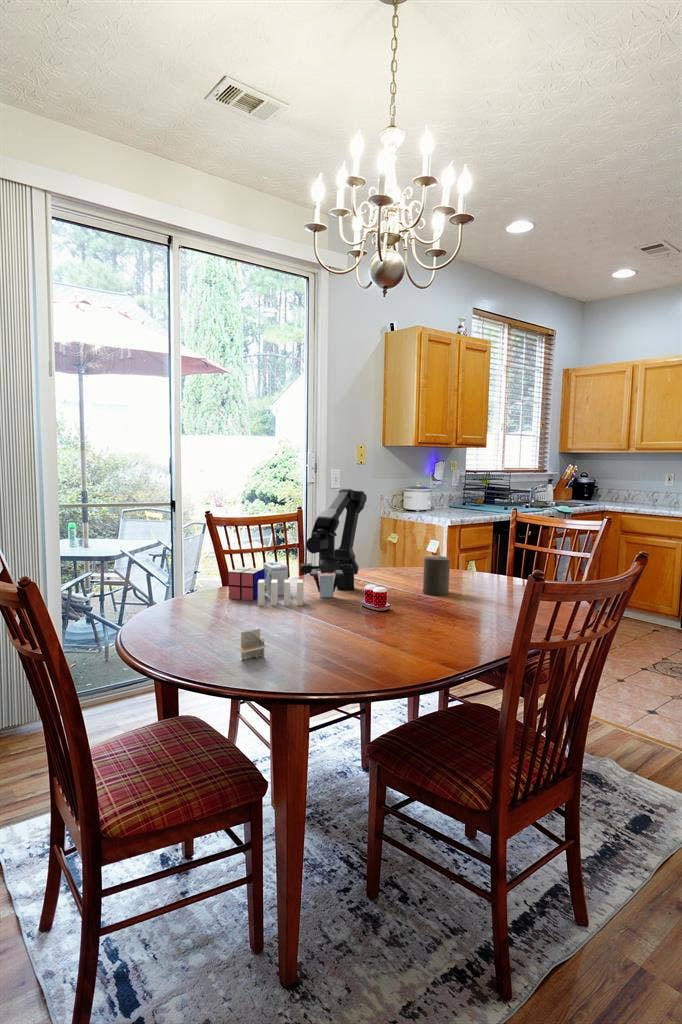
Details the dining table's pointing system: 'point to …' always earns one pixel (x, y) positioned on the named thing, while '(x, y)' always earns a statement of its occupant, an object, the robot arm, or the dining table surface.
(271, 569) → the light bulb box
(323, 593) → the domino
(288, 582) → the domino
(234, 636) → the dining table surface
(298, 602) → the domino
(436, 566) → the dark grey cylinder
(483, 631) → the dining table surface
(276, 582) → the domino
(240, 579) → the puzzle cube
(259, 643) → the architectural model
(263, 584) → the domino
